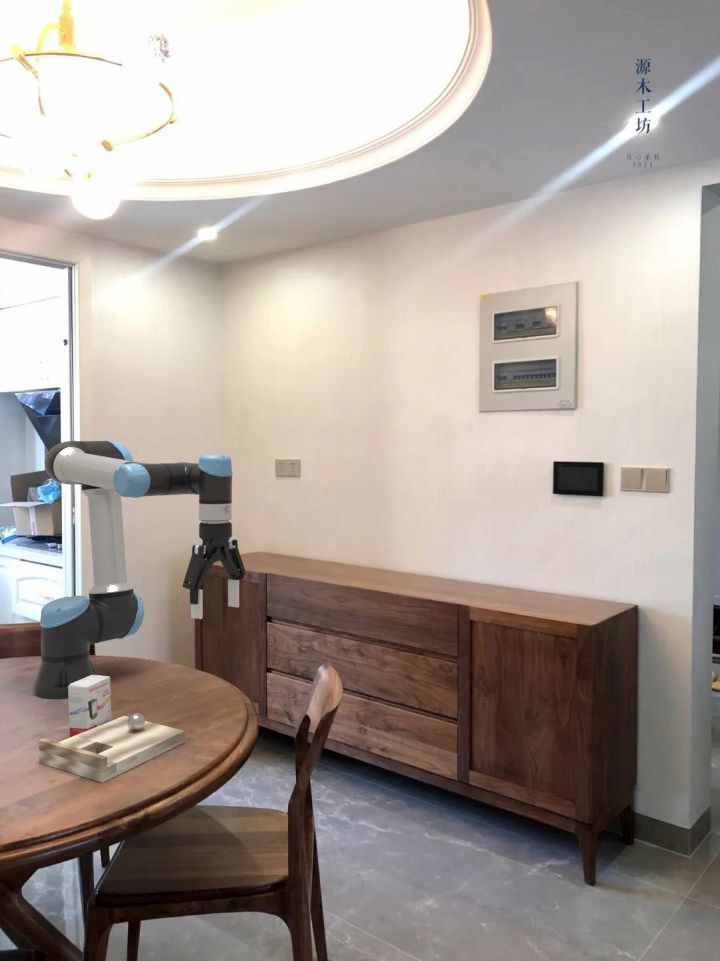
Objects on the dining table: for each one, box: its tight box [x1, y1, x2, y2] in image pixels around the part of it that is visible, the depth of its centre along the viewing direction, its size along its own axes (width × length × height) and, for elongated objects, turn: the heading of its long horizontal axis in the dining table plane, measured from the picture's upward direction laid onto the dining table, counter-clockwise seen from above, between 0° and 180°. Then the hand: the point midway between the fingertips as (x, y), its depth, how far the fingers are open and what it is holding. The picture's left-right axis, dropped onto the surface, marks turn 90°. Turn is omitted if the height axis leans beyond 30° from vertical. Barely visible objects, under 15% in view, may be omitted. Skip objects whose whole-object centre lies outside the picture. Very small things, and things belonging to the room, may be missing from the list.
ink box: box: [68, 674, 112, 738], centre depth 162 cm, size 9×5×12 cm, turn 162°
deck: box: [38, 715, 186, 783], centre depth 152 cm, size 18×22×4 cm
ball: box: [127, 712, 146, 731], centre depth 157 cm, size 4×4×4 cm
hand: (215, 612), depth 173 cm, fingers open, 13 cm apart
